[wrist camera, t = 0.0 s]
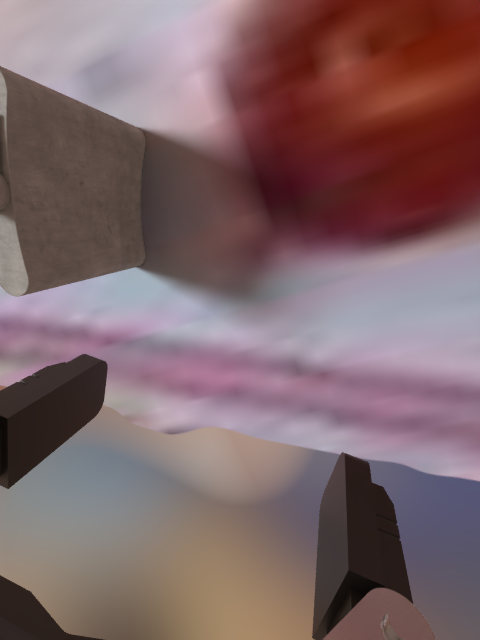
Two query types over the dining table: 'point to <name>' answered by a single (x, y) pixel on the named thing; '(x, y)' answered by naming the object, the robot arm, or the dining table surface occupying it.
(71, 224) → the hip flask
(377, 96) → the dining table surface
